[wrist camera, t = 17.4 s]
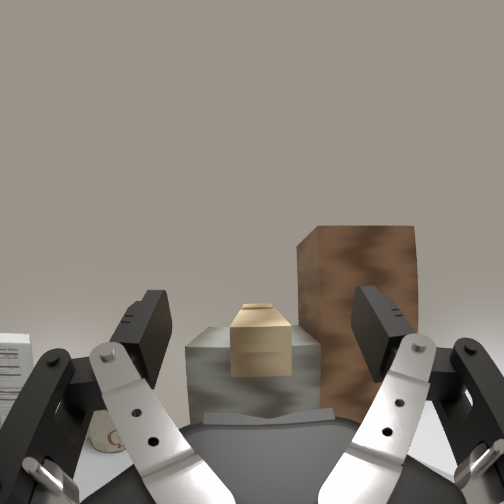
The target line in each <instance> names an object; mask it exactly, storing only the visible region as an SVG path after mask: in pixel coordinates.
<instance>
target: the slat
mask: <svg viewBox="0 0 504 504" xmlns="http://www.w3.org/2000/svg"><path fill="white" fill-rule="evenodd" d="M230 357H231V377H271V376H292V333H291V325H290V324H289V323H288V322H287V321H286V320H285V319H284V317H283V316H282V315H280V313H279V312H278V311H277V310H276V309H273V306H272V305H271V304H244V305H243V307H242V310H240V311H239V313H238V315H237V316H236V318H235V319H234V321H233V323H232V324H231V326H230Z"/></svg>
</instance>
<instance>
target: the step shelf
mask: <svg viewBox="0 0 504 504" xmlns="http://www.w3.org/2000/svg"><path fill="white" fill-rule="evenodd" d="M297 271H298V312H299V325H291V333H292V376H271V377H231V357H230V327H208V328H207V329H205V330H204V331H203V332H202V333H201V334H200V335H198V336H197V337H196V338H195V339H194V340H193V341H191V342H190V343H189V344H188V345H187V346H185V358H186V375H187V389H188V402H189V413H190V424H193V423H197V422H202V421H203V419H204V412H208V413H238V414H243V415H248V416H253V417H259V418H265V419H273V418H277V417H281V416H284V415H288V414H292V413H295V412H299V411H304V410H315V409H325V408H333V411H334V415H335V416H336V417H343V418H347V419H351V420H354V421H356V422H359V423H361V424H362V423H363V421H364V419H365V417H366V415H367V413H368V412H369V410H370V408H371V406H372V404H373V402H374V400H375V398H376V396H377V394H378V392H379V390H380V387H381V385H382V383H383V382H380V383H374V381H373V379H372V376H371V374H370V371H369V369H368V366H367V364H366V362H365V359H364V357H363V354H362V352H361V350H360V347H359V345H358V343H357V340H356V338H355V336H354V333H353V331H352V328H351V313H352V307H353V301H354V295H355V290H356V287H357V286H364V285H375V286H376V288H377V289H378V291H379V292H380V294H381V295H382V296H385V295H386V296H387V297H388V298H390V299H391V300H393V301H394V302H395V303H396V305H397V306H398V308H399V310H400V311H401V312H402V313H403V316H405V318H406V319H407V321H408V322H409V324H410V325H411V327H412V328H413V330H414V331H415V333H416V334H418V275H417V257H416V245H415V233H414V226H317V227H316V228H315V229H314V230H313V231H312V232H311V233H310V234H309V235H308V236H307V237H306V238H305V239H304V240H303V241H302V242H301V243H300V244H299V245H298V246H297Z"/></svg>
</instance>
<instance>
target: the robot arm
mask: <svg viewBox="0 0 504 504" xmlns="http://www.w3.org/2000/svg"><path fill="white" fill-rule="evenodd" d="M351 328H352V331H353V333H354V336H355V338H356V340H357V343H358V345H359V347H360V350H361V352H362V354H363V357H364V359H365V362H366V364H367V366H368V369H369V371H370V374H371V376H372V379H373V381H374V383H380V382H383V383H382V385H381V387H380V390H379V392H378V394H377V396H376V398H375V400H374V402H373V404H372V406H371V408H370V410H369V412H368V413H367V415H366V417H365V419H364V421H363V423H362V424H361V423H359V422H356V421H354V420H351V419H347V418H343V417H336V416H335V415H334V411H333V408H325V409H315V410H304V411H299V412H295V413H292V414H288V415H284V416H281V417H277V418H273V419H265V418H259V417H253V416H248V415H243V414H238V413H208V412H204V419H203V421H202V422H197V423H193V424H190V425H187V426H185V427H183V428H180V429H177V427H176V426H175V425H174V423H173V422H172V420H171V419H170V417H169V416H168V414H167V413H166V411H165V410H164V408H163V407H162V406H161V404H160V402H159V401H158V399H157V398H156V396H155V394H154V393H153V391H152V390H151V389H154V388H155V384H156V381H157V377H158V375H159V371H160V368H161V365H162V362H163V358H164V356H165V352H166V349H167V346H168V343H169V340H170V337H171V333H172V319H171V314H170V309H169V303H168V298H167V293H166V291H165V290H147V292H146V294H145V295H144V297H143V299H142V301H136V302H135V303H134V304H132V305H131V306H130V307H128V309H127V311H126V313H125V314H124V317H123V318H122V319H121V323H119V325H118V327H117V328H116V330H115V332H114V334H113V335H112V337H111V339H110V341H109V342H106V343H103V344H100V345H98V346H96V347H95V348H94V349H93V350H92V352H91V353H90V356H89V357H83V358H76V359H71V357H70V355H69V353H68V352H67V351H66V350H65V349H61V348H57V349H52V350H49V351H47V352H46V353H44V354H43V355H42V356H41V357H40V359H39V361H38V362H37V364H36V366H35V367H34V369H33V370H32V372H31V374H30V375H29V377H28V379H27V381H26V382H25V384H24V386H23V388H22V389H21V391H20V393H19V395H18V396H17V398H16V400H15V402H14V404H13V406H12V408H11V409H10V411H9V413H8V415H7V417H6V419H5V421H4V423H3V422H2V419H1V415H0V504H79V489H78V487H77V485H76V483H75V482H74V481H73V477H74V473H75V470H76V466H77V463H78V460H79V456H80V453H81V450H82V447H83V443H84V440H85V437H86V434H87V431H88V428H89V425H90V422H91V419H92V416H93V413H94V411H100V410H108V412H109V414H110V416H111V418H112V421H113V423H114V425H115V427H116V429H117V431H118V434H119V436H120V438H121V440H122V442H123V444H124V446H125V448H126V450H127V452H128V454H129V455H130V457H131V459H132V461H133V463H134V464H133V465H131V466H130V467H129V468H127V469H126V470H125V471H123V472H122V473H121V474H119V475H118V476H116V477H115V478H114V479H112V480H111V481H110V482H108V483H107V484H105V485H104V486H102V487H101V488H100V489H98V490H97V491H95V492H94V493H92V494H91V495H89V496H88V497H87V498H85V499H84V500H83V501H82V502H81V503H80V504H504V377H503V375H502V374H501V372H500V371H499V369H498V368H497V366H496V365H495V363H494V362H493V360H492V359H491V358H490V356H489V354H488V353H487V352H486V350H485V349H484V347H483V346H482V345H481V344H480V343H479V342H477V341H476V340H473V339H471V338H461V339H458V340H457V341H456V342H455V345H454V347H453V349H451V348H439V347H436V345H435V343H434V342H433V341H432V340H431V339H430V338H429V337H427V336H425V335H422V334H416V333H415V331H414V330H413V328H412V327H411V325H410V324H409V322H408V321H407V319H406V318H405V316H403V313H402V312H401V311H400V310H399V308H398V306H397V305H396V303H395V302H394V301H393V300H391V299H390V298H388V297H387V296H386V295H385V296H382V295H381V294H380V292H379V291H378V289H377V288H376V286H375V285H364V286H357V287H356V290H355V295H354V301H353V307H352V313H351ZM466 389H467V390H468V392H469V393H470V395H471V397H472V401H473V406H471V404H470V402H469V400H468V398H467V396H466V394H465V391H466ZM426 400H429V401H432V403H433V405H434V407H435V409H436V412H437V414H438V417H439V419H440V421H441V424H442V426H443V428H444V431H445V434H446V436H447V439H448V441H449V444H450V446H451V449H452V452H453V455H454V457H455V460H456V463H457V466H458V467H457V469H456V471H455V474H454V481H455V483H452V482H451V481H449V480H448V479H446V478H444V477H443V476H441V475H439V474H438V473H436V472H434V471H433V470H431V469H430V468H428V467H426V466H425V465H423V464H422V463H420V462H418V461H417V460H415V459H414V458H412V457H411V456H409V455H408V454H407V452H408V450H409V447H410V445H411V442H412V439H413V437H414V434H415V431H416V428H417V425H418V422H419V420H420V417H421V414H422V411H423V407H424V404H425V401H426ZM59 402H60V405H59ZM58 405H59V407H58ZM57 407H58V409H57ZM56 409H57V412H56ZM55 412H56V414H55Z"/></svg>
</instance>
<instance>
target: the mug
mask: <svg viewBox="0 0 504 504" xmlns="http://www.w3.org/2000/svg"><path fill="white" fill-rule="evenodd" d="M88 433H89V436H90V439H91V441H92V444H93V446H94V447H95V448H96V449H97V450H99V451H102V452H107V453H114V452H119V451H122V450H124V449H125V446H124V444H123V442H122V440H121V438H120V436H119V434H118V431H117V429H116V427H115V425H114V423H113V421H112V418H111V416H110V414H109V412H108V410H100V411H94V413H93V416H92V419H91V422H90V425H89V428H88Z"/></svg>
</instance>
